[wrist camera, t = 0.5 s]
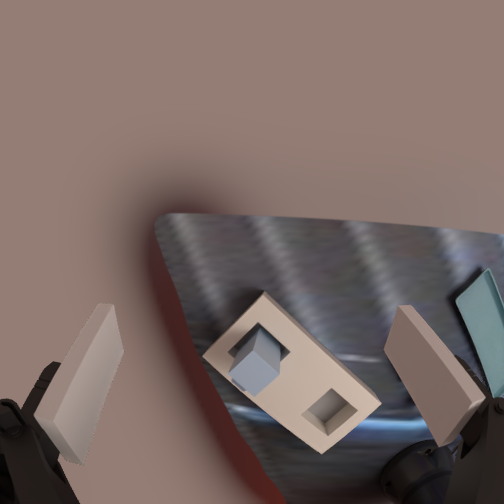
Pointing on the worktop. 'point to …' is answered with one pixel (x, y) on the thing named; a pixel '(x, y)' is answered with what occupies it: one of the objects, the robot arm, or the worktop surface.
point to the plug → (256, 362)
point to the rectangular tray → (486, 326)
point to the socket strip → (298, 377)
